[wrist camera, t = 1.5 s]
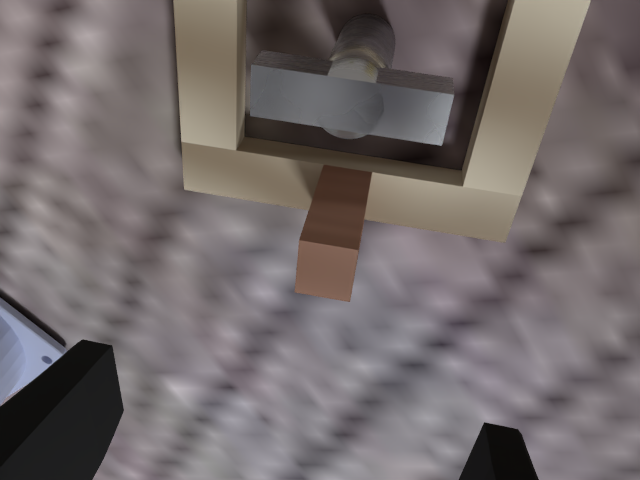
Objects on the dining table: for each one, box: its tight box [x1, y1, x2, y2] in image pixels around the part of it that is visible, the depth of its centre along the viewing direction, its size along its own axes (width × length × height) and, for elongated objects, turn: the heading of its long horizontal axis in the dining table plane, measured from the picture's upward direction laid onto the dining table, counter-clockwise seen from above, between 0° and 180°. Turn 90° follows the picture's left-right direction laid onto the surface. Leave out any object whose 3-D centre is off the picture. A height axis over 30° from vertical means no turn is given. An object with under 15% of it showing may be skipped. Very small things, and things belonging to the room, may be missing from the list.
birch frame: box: [173, 0, 591, 302], centre depth 14 cm, size 10×10×5 cm
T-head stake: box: [250, 14, 454, 146], centre depth 15 cm, size 4×2×4 cm, turn 85°
